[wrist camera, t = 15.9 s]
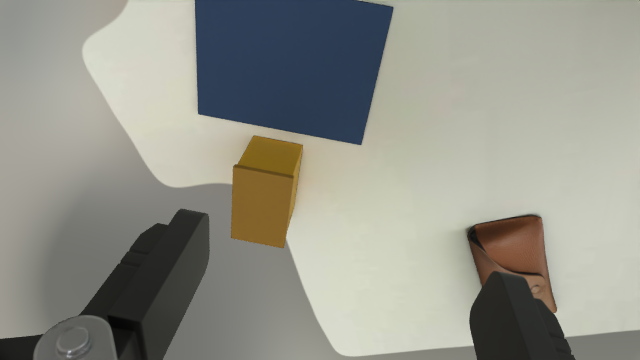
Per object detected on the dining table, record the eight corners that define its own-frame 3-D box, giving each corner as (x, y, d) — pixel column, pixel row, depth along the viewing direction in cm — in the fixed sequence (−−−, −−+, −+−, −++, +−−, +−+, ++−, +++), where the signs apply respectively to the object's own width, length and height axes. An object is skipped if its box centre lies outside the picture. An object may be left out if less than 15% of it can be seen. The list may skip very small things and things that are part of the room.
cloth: (393, 7, 35) (393, 7, 35) (361, 143, 43) (360, 145, 43) (195, -30, 35) (194, -30, 35) (199, 113, 43) (198, 114, 43)
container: (304, 143, 44) (293, 178, 38) (295, 209, 49) (283, 248, 43) (252, 133, 44) (233, 167, 38) (248, 199, 49) (230, 238, 43)
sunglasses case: (562, 313, 52) (549, 357, 49) (506, 300, 57) (491, 339, 54) (541, 211, 44) (524, 254, 41) (479, 206, 49) (459, 244, 45)
